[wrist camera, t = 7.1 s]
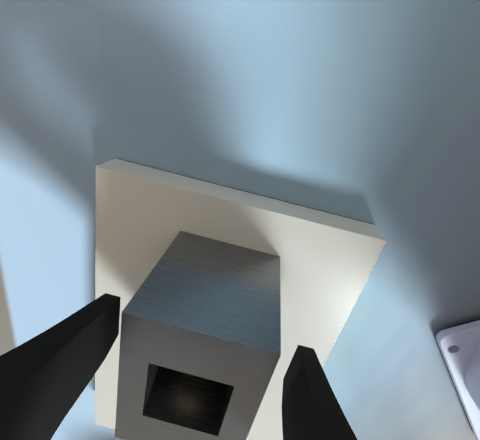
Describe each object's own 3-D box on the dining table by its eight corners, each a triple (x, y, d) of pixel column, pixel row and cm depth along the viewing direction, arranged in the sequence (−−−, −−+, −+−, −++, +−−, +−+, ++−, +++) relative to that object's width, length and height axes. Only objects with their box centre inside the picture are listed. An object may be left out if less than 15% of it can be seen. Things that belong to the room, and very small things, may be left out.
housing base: (114, 158, 13) (24, 193, 8) (375, 225, 13) (429, 299, 8) (107, 401, 20) (57, 489, 16) (269, 446, 20) (266, 549, 16)
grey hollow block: (180, 230, 12) (121, 311, 8) (280, 256, 12) (280, 354, 8) (165, 330, 15) (114, 436, 10) (247, 352, 15) (233, 469, 10)
